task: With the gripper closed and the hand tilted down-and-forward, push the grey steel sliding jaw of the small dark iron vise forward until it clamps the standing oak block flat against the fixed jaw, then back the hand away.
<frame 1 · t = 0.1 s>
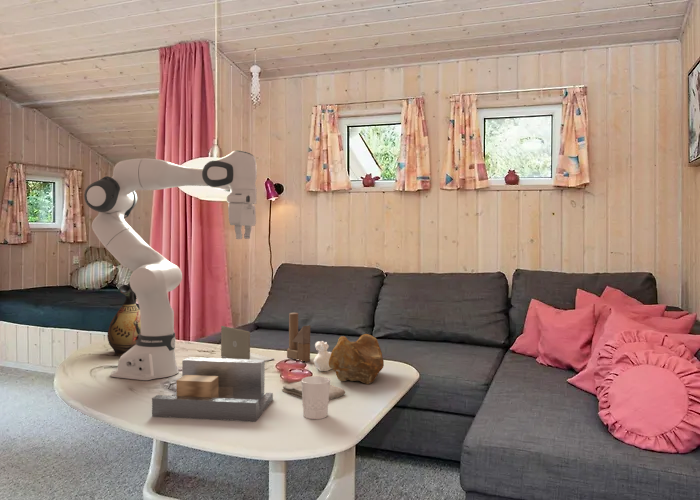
hand: (243, 239, 188), 48 cm above the table, fingers open, 8 cm apart
oak block: (197, 409, 156), on the table
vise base: (205, 417, 150), on the table
bust: (323, 369, 203), on the table
wooden block: (298, 359, 217), on the table
rough brown rock: (361, 380, 189), on the table
sliding jaw: (223, 379, 165), point 6 cm above the table, slide at 0.0 cm
ceramic jug: (129, 353, 224), on the table
laptop: (247, 359, 217), on the table
washcloth: (313, 395, 173), on the table
white cup: (315, 416, 153), on the table
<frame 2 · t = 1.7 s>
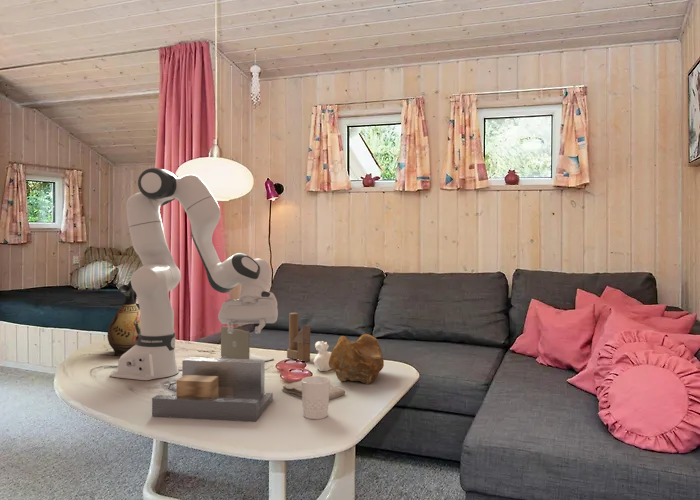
hand: (243, 332, 182), 17 cm above the table, fingers open, 8 cm apart
nothing on the table moved.
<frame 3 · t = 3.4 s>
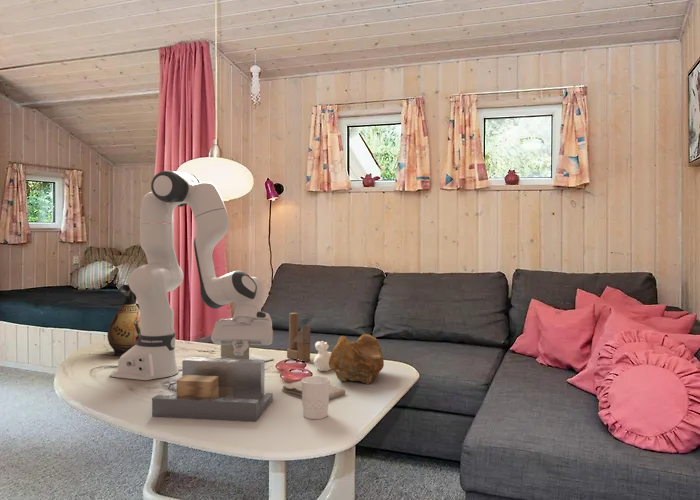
hand: (238, 354, 177), 11 cm above the table, fingers closed
nothing on the table moved.
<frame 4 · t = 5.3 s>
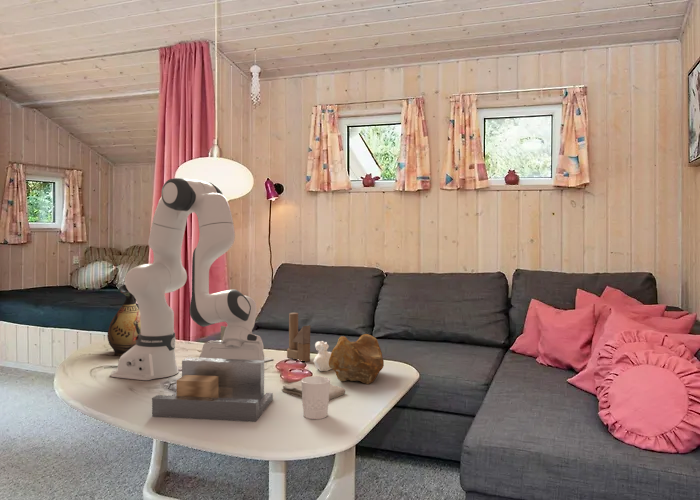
hand: (226, 379, 167), 5 cm above the table, fingers closed, pressing on sliding jaw
sliding jaw: (223, 380, 164), point 6 cm above the table, slide at 0.4 cm, touching gripper
everything else where it was.
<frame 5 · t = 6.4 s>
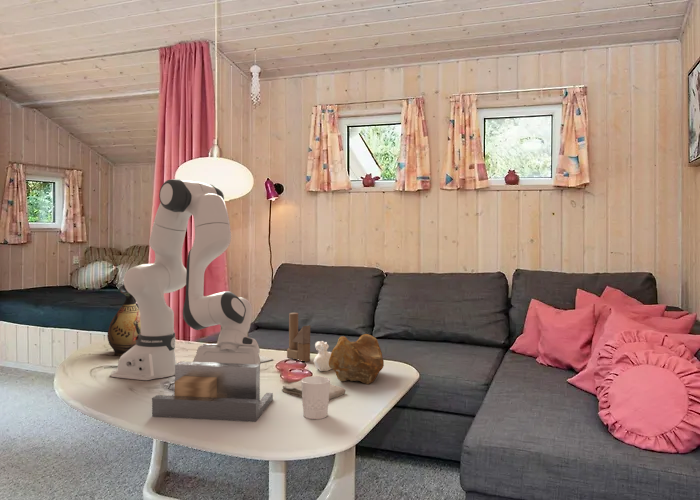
hand: (221, 385, 162), 5 cm above the table, fingers closed, pressing on sliding jaw
oak block: (196, 410, 155), on the table, touching sliding jaw, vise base
sliding jaw: (217, 385, 159), point 6 cm above the table, slide at 5.4 cm, touching gripper, oak block
everything else where it was.
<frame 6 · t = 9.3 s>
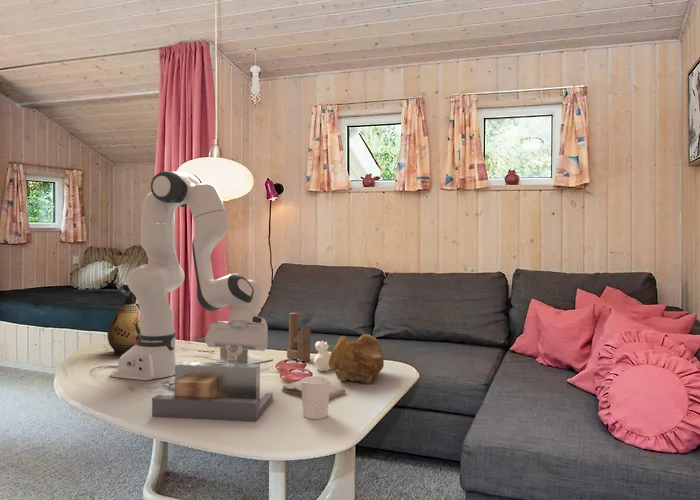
hand: (231, 358, 175), 10 cm above the table, fingers closed
oak block: (196, 411, 155), on the table
sliding jaw: (217, 384, 159), point 6 cm above the table, slide at 5.4 cm
everything else where it was.
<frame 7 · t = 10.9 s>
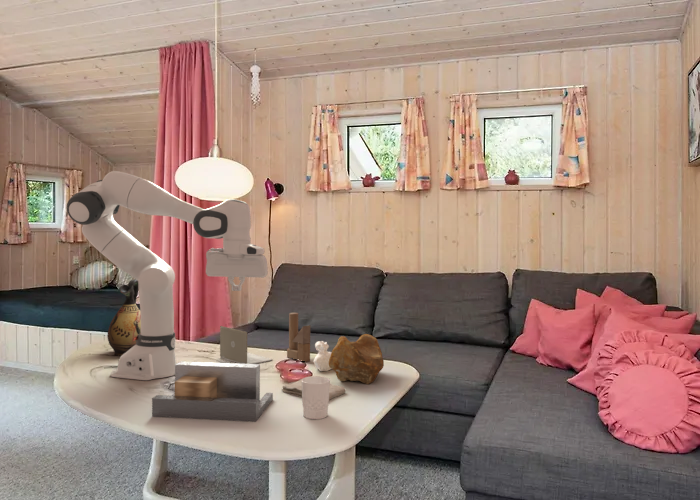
hand: (236, 290, 181), 31 cm above the table, fingers closed
nothing on the table moved.
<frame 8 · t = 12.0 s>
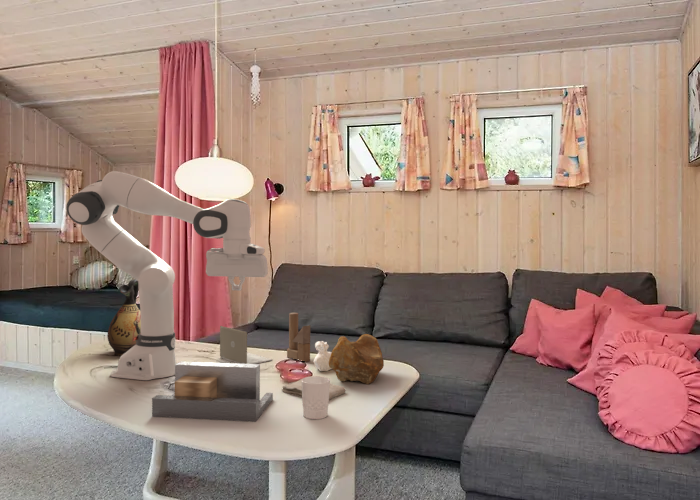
hand: (236, 290, 181), 31 cm above the table, fingers closed
nothing on the table moved.
at the end: sliding jaw slide at 5.4 cm; oak block moved 1.4 cm from its start; oak block tilted 0° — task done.
